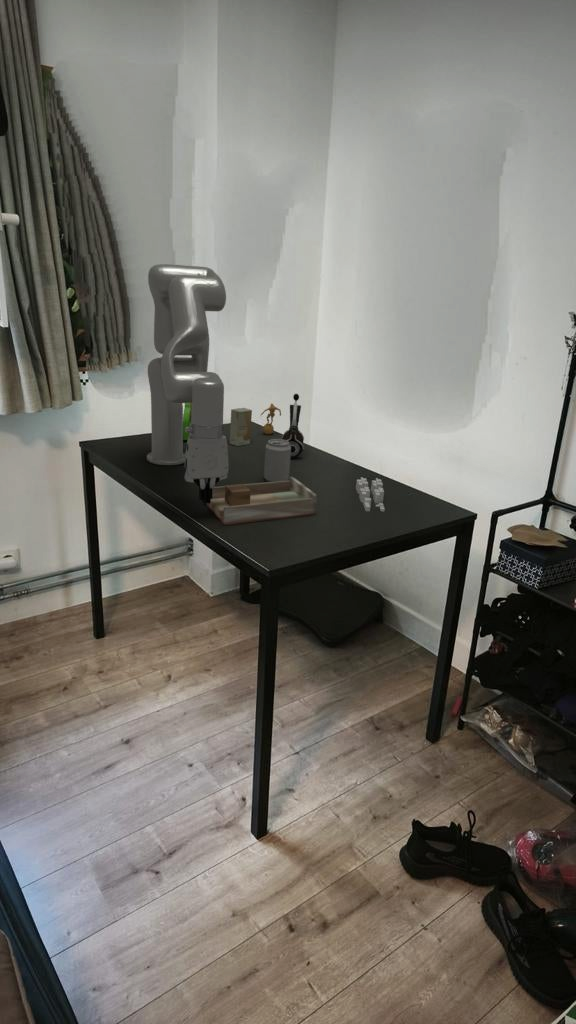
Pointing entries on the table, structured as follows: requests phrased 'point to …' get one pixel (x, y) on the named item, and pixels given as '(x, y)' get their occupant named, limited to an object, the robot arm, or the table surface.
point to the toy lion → (186, 419)
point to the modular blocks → (365, 493)
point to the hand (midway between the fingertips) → (205, 501)
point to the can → (277, 460)
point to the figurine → (268, 427)
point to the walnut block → (237, 495)
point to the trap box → (266, 502)
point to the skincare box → (240, 426)
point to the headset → (294, 430)
